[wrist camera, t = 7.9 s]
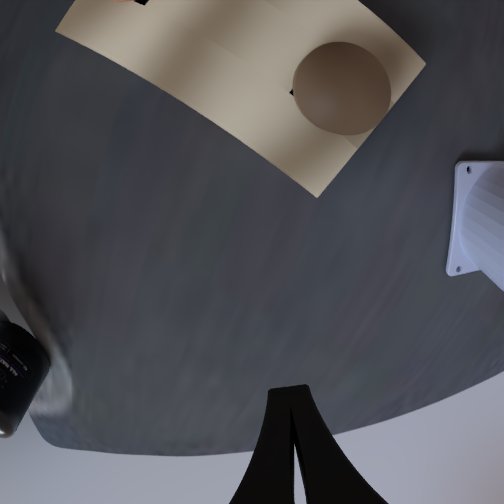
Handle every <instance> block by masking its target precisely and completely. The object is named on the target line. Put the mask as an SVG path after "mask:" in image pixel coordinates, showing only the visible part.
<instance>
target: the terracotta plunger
mask: <svg viewBox="0 0 504 504" xmlns="http://www.w3.org/2000/svg"><path fill="white" fill-rule="evenodd" d="M111 1H116V2H128V1H133V0H111ZM137 1H140V2H148V1H149V0H137Z"/></svg>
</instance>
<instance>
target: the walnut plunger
mask: <svg viewBox="0 0 504 504" xmlns="http://www.w3.org/2000/svg"><path fill="white" fill-rule="evenodd" d="M292 87H293V95H294V99H295V102H296V104H297V106H298V108H299V110H300V111H301V113H302V114H303V115H304V117H305V118H306V119H307V120H308V121H309V122H311V123H312V124H313V125H315V126H316V127H318V128H320V129H322V130H325V131H328V132H331V133H335V134H339V135H358V134H362V133H365V132H367V131H369V130H371V129H373V128H374V127H375V126H377V125H378V124H379V123H380V122H381V121H382V119H383V118H384V117H385V115H386V113H387V111H388V108H389V105H390V101H391V86H390V81H389V78H388V75H387V73H386V70H385V69H384V67H383V65H382V64H381V63H380V61H379V60H378V59H377V58H376V57H375V56H374V55H373V54H372V53H370V52H369V51H368V50H366V49H364V48H362V47H360V46H358V45H355V44H352V43H348V42H330V43H326V44H323V45H321V46H319V47H317V48H315V49H314V50H312V51H311V52H310V53H309V54H308V55H307V56H306V57H305V58H304V59H303V60H302V61H301V62H300V63H299V65H298V67H297V69H296V71H295V74H294V77H293V86H292Z"/></svg>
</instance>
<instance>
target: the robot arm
mask: <svg viewBox="0 0 504 504" xmlns="http://www.w3.org/2000/svg"><path fill="white" fill-rule="evenodd" d="M468 166H469V170H468V172H467V167H468ZM458 266H459V267H458ZM457 267H458V269H457ZM477 270H481V271H482V272H484V273H485V274H486V275H487V276H488V277H489V278H490V279H491V280H492V281H493V282H494V283H495V284H496V285H497V286H498V287H500V288H501V289H502V290H503V291H504V161H459V162H458V163H457V164H456V166H455V186H454V204H453V216H452V227H451V236H450V244H449V252H448V259H447V265H446V272H447V274H448V275H449V276H455V275H460V274H464V273H468V272H473V271H477ZM294 443H295V447H296V452H297V457H298V462H299V466H300V471H301V476H302V480H303V485H304V489H305V495H306V503H307V504H388V503H387V502H386V501H385V500H384V499H383V498H382V497H381V496H380V495H379V494H378V493H377V492H376V491H375V490H374V489H373V488H372V487H371V486H370V485H369V484H368V483H367V482H366V481H365V479H364V478H363V477H362V476H361V475H360V474H359V472H358V471H357V470H356V469H355V467H354V466H353V465H352V464H351V462H350V461H349V460H348V458H347V457H346V456H345V454H344V453H343V451H342V450H341V448H340V447H339V445H338V444H337V442H336V441H335V439H334V438H333V436H332V434H331V433H330V431H329V429H328V428H327V426H326V424H325V423H324V421H323V419H322V417H321V415H320V413H319V411H318V409H317V407H316V404H315V402H314V400H313V397H312V395H311V392H310V389H309V386H308V385H306V384H304V385H297V386H289V387H281V388H273V389H270V390H269V391H268V399H267V406H266V412H265V416H264V421H263V425H262V428H261V432H260V435H259V439H258V442H257V445H256V448H255V450H254V453H253V455H252V458H251V461H250V463H249V466H248V468H247V470H246V472H245V475H244V477H243V479H242V481H241V483H240V485H239V487H238V489H237V491H236V492H235V494H234V496H233V498H232V500H231V501H230V503H229V504H295V502H294Z"/></svg>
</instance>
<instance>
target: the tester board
mask: <svg viewBox="0 0 504 504" xmlns="http://www.w3.org/2000/svg"><path fill="white" fill-rule="evenodd" d="M56 32H58V33H60V34H62V35H64V36H66V37H68V38H70V39H72V40H74V41H76V42H78V43H80V44H82V45H84V46H86V47H88V48H90V49H92V50H94V51H96V52H98V53H100V54H101V55H103V56H105V57H107V58H109V59H111V60H113V61H114V62H116V63H118V64H120V65H122V66H123V67H125V68H127V69H129V70H130V71H132V72H134V73H136V74H137V75H139V76H141V77H142V78H144V79H146V80H148V81H149V82H151V83H153V84H154V85H156V86H158V87H159V88H161V89H163V90H164V91H166V92H167V93H169V94H171V95H172V96H174V97H175V98H177V99H179V100H180V101H182V102H183V103H185V104H187V105H188V106H190V107H191V108H193V109H194V110H196V111H197V112H199V113H200V114H202V115H204V116H205V117H207V118H208V119H210V120H211V121H213V122H214V123H216V124H217V125H219V126H220V127H221V128H223V129H224V130H226V131H227V132H229V133H230V134H232V135H233V136H235V137H236V138H237V139H239V140H240V141H242V142H243V143H245V144H246V145H247V146H249V147H250V148H252V149H253V150H254V151H256V152H257V153H259V154H260V155H261V156H263V157H264V158H265V159H267V160H268V161H270V162H271V163H272V164H274V165H275V166H276V167H278V168H279V169H280V170H282V171H283V172H284V173H286V174H287V175H288V176H290V177H291V178H292V179H294V180H295V181H296V182H297V183H299V184H300V185H301V186H303V187H304V188H305V189H306V190H308V191H309V192H310V193H312V194H313V195H314V196H315V197H317V198H318V196H319V195H320V194H321V193H322V192H323V190H324V189H325V188H326V187H327V186H328V184H329V183H330V182H331V181H332V180H333V178H334V177H335V176H336V175H337V174H338V172H339V171H340V170H341V169H342V167H343V166H344V165H345V164H346V163H347V161H348V160H349V159H350V158H351V157H352V155H353V154H354V153H355V152H356V150H357V149H358V148H359V147H360V146H361V144H362V143H363V142H364V141H365V139H366V138H367V137H368V136H369V135H370V133H371V132H372V131H373V130H374V128H375V127H376V126H375V127H374V128H373V129H371V130H369V131H367V132H365V133H362V134H358V135H339V134H335V133H331V132H328V131H325V130H322V129H320V128H318V127H316V126H315V125H313V124H312V123H311V122H309V121H308V120H307V119H306V118H305V117H304V115H303V114H302V113H301V111H300V110H299V108H298V106H297V104H296V102H295V99H294V96H293V95H291V94H290V93H289V92H290V91H291V90H292V89H293V87H292V86H293V77H294V74H295V71H296V69H297V67H298V65H299V63H300V62H301V61H302V60H303V59H304V58H305V57H306V56H307V55H308V54H309V53H310V52H311V51H312V50H314V49H315V48H317V47H319V46H321V45H323V44H326V43H330V42H348V43H352V44H355V45H358V46H360V47H362V48H364V49H366V50H368V51H369V52H370V53H372V54H373V55H374V56H375V57H376V58H377V59H378V60H379V61H380V63H381V64H382V65H383V67H384V69H385V70H386V73H387V75H388V78H389V81H390V86H391V101H390V105H389V108H388V111H389V110H390V109H391V107H392V106H393V105H394V104H395V103H396V101H397V100H398V99H399V98H400V96H401V95H402V94H403V93H404V91H405V90H406V89H407V88H408V86H409V85H410V84H411V83H412V81H413V80H414V79H415V78H416V76H417V75H418V74H419V73H420V71H421V70H422V69H423V68H424V66H425V65H426V63H425V62H424V61H423V60H422V59H421V58H420V57H419V55H418V54H417V53H416V52H415V51H414V50H413V49H412V48H411V47H410V46H409V45H408V44H407V43H406V42H405V41H404V40H403V39H402V38H401V37H400V36H398V35H397V34H396V33H395V32H394V31H393V30H392V29H391V28H390V27H389V26H388V25H387V24H385V23H384V22H383V21H382V20H381V19H380V18H379V17H377V16H376V15H375V14H374V13H373V12H372V11H370V10H369V9H368V8H367V7H365V6H364V5H363V4H362V3H360V2H359V1H358V0H149V1H148V2H147V3H146V5H145V6H144V5H141V4H139V3H137V2H135V1H128V2H116V1H111V0H75V2H74V3H73V4H72V6H71V7H70V9H69V10H68V12H67V13H66V15H65V16H64V18H63V19H62V21H61V23H60V24H59V26H58V27H57V29H56ZM388 111H387V112H388ZM386 114H387V113H386Z"/></svg>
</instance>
